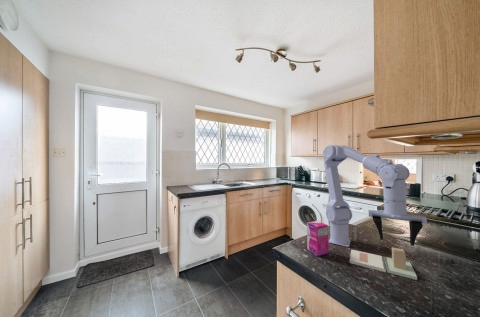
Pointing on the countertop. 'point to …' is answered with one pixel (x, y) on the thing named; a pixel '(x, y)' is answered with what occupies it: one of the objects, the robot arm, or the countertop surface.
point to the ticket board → (367, 260)
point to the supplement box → (317, 238)
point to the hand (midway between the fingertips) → (396, 241)
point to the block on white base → (399, 264)
